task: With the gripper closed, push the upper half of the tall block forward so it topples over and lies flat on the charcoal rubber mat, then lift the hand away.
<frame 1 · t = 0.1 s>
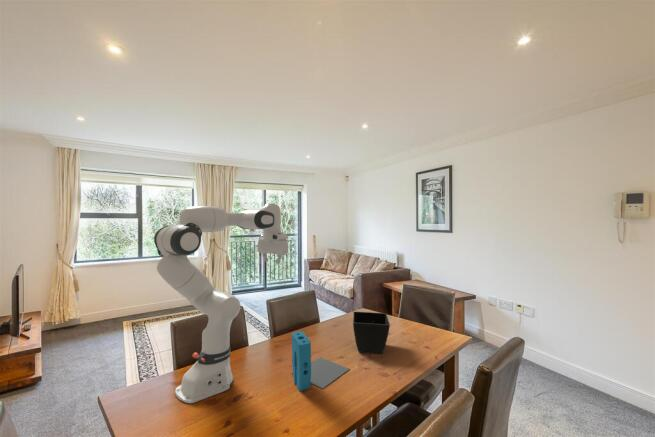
hand: (271, 262, 147), 48 cm above the table, tool pointing down, fingers open, 8 cm apart
charcoal mat: (321, 371, 131), on the table
block: (301, 384, 121), on the table
flower pot: (370, 348, 157), on the table
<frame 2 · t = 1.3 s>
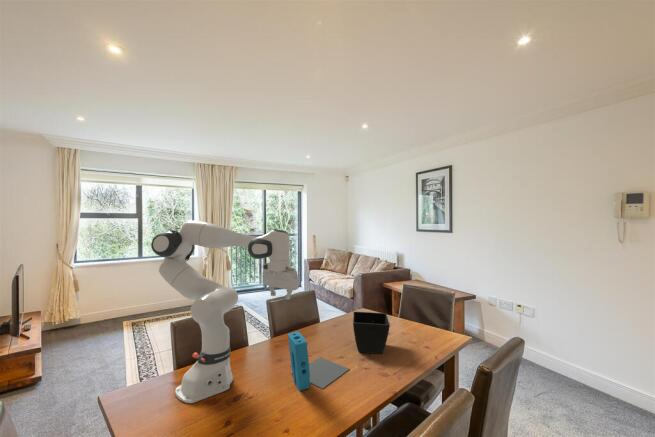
hand: (280, 297, 126), 36 cm above the table, tool pointing down, fingers open, 8 cm apart
block: (301, 384, 121), on the table, touching charcoal mat
everything else where it was.
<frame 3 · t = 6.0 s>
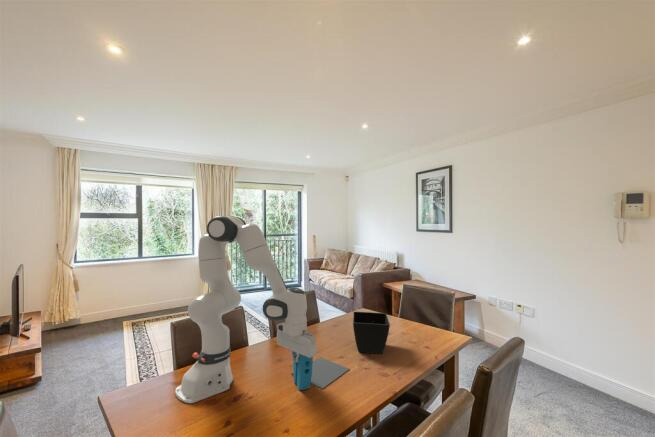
hand: (296, 361, 118), 11 cm above the table, tool pointing down, fingers closed
block: (301, 383, 121), on the table, touching charcoal mat
everything else where it was.
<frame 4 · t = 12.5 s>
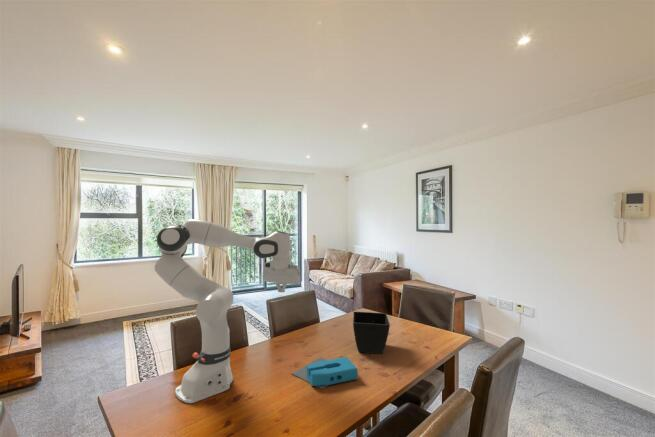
hand: (281, 292, 141), 34 cm above the table, tool pointing down, fingers closed
block: (308, 375, 123), point 3 cm above the table, touching charcoal mat
everything else where it was.
at the end: block tilted 90°; block touching charcoal mat; block inside the target area (2.1 cm from its centre), point 2.9 cm above the table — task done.
